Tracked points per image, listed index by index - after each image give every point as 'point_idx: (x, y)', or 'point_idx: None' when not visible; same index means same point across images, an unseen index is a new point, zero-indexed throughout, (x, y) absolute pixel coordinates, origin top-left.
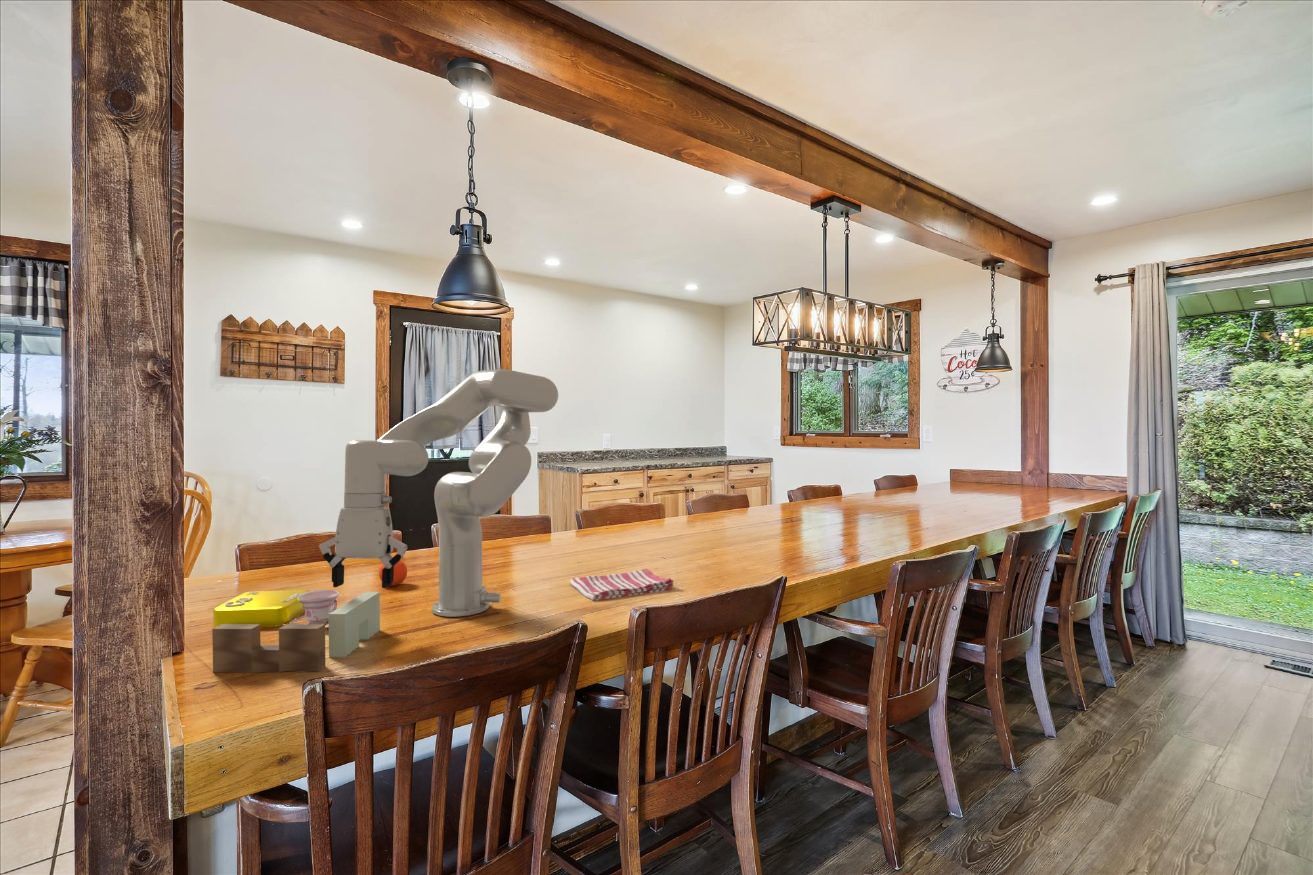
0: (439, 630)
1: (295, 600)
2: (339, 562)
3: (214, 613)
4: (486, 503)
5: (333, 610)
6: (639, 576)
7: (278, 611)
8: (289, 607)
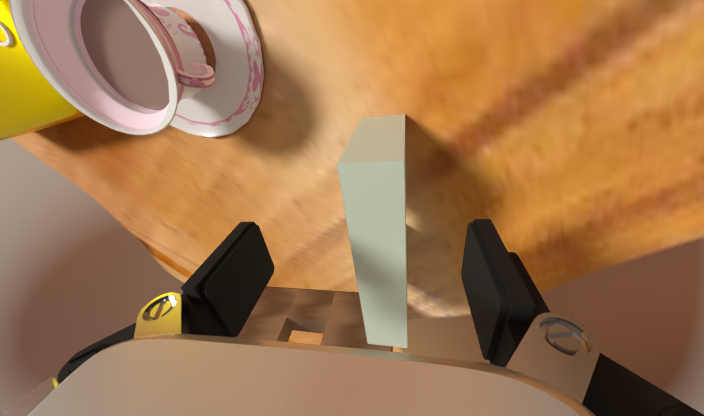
0: (620, 97)
1: (9, 10)
2: (194, 334)
3: None
4: None
5: (214, 81)
6: None
7: None
8: None
